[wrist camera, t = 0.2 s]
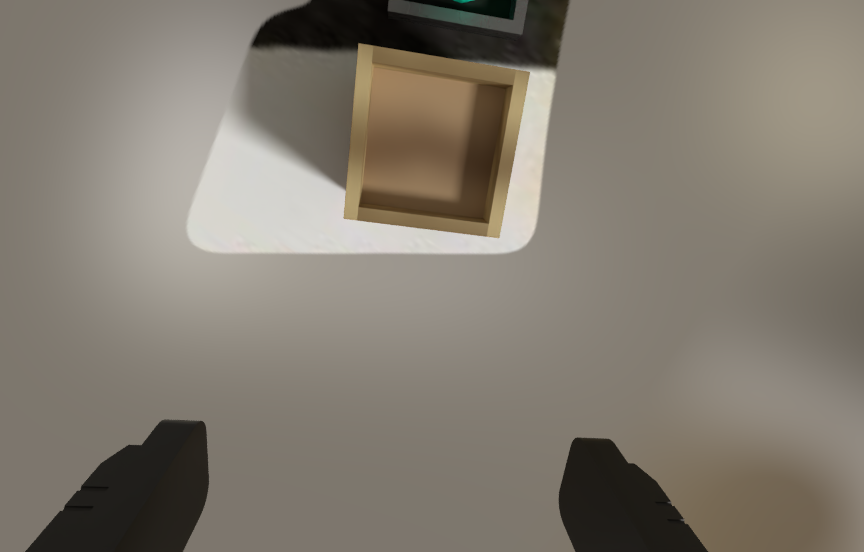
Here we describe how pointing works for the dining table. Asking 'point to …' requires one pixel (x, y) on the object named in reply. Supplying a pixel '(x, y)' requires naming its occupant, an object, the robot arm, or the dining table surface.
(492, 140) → the wooden storage box
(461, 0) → the candle
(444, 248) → the dining table surface
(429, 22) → the grey square tray
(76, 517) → the robot arm
